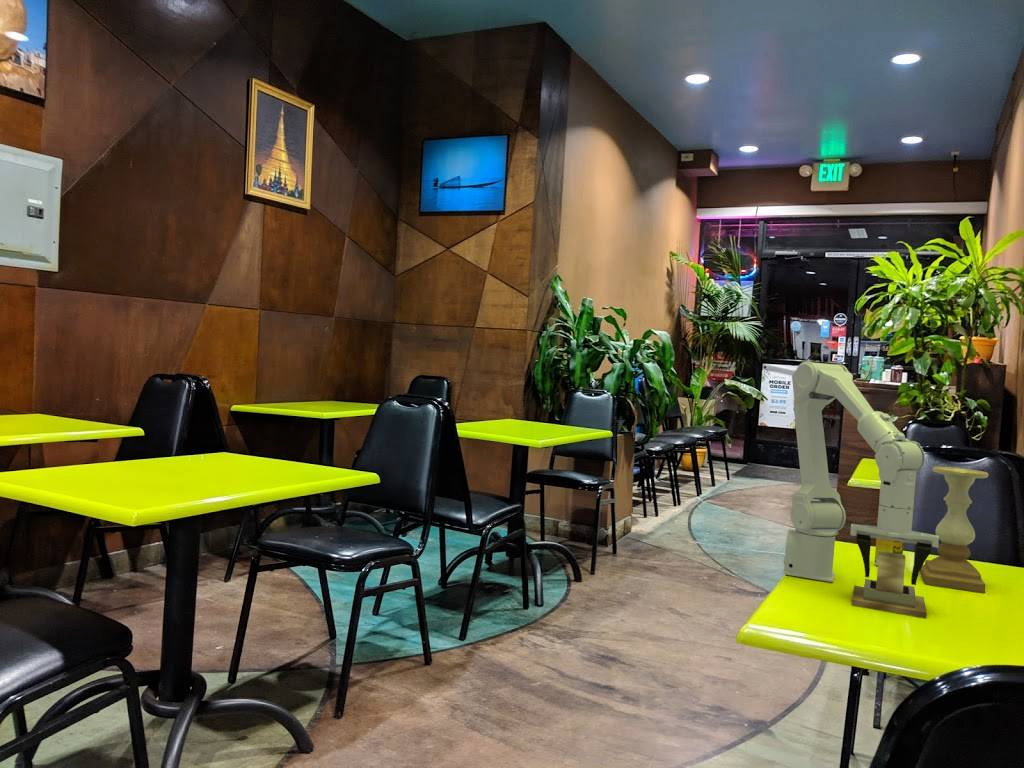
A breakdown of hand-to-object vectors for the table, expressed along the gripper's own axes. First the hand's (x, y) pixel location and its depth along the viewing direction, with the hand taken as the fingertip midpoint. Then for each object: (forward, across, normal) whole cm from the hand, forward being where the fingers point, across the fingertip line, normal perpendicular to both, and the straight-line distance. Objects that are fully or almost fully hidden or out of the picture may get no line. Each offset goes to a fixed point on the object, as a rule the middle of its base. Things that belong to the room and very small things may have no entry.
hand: (890, 579), depth 145 cm
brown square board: (+4, 0, 0) cm, 4 cm away
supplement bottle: (+5, 0, +35) cm, 35 cm away
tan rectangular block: (+3, 0, 0) cm, 3 cm away
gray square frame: (+4, 0, 0) cm, 4 cm away
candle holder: (+5, +12, +28) cm, 31 cm away
